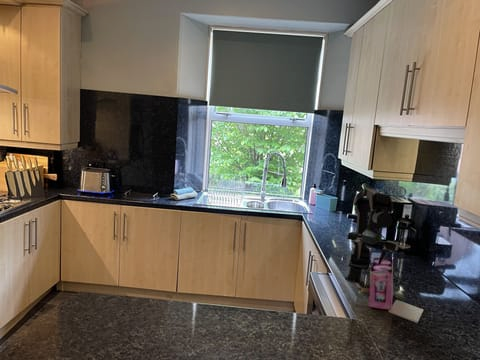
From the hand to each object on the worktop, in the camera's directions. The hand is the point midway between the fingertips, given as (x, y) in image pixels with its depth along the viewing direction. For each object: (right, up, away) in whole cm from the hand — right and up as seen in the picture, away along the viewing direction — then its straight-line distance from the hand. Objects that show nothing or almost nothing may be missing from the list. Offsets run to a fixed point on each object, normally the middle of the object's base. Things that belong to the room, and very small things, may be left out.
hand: (368, 261), depth 146 cm
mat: (+11, -17, -8) cm, 22 cm away
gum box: (+5, -14, -1) cm, 15 cm away
